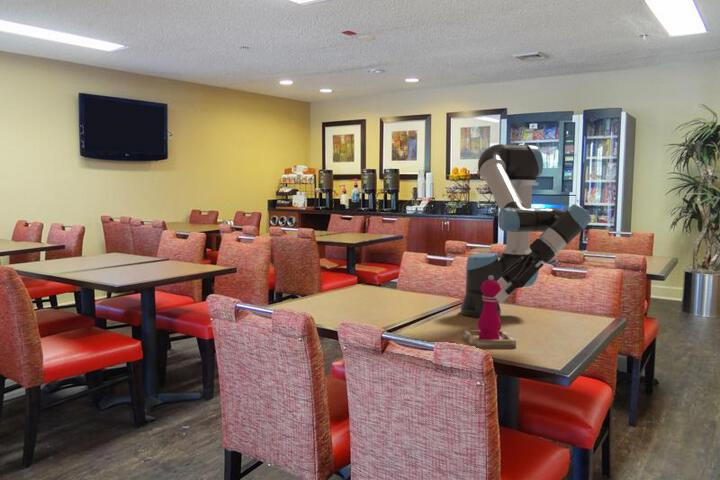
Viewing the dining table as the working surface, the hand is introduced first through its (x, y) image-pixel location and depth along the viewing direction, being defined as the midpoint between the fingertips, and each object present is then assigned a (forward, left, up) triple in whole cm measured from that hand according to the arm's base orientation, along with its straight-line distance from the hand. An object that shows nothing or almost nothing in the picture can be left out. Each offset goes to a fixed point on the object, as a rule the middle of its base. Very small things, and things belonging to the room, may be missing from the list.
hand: (493, 297), depth 176 cm
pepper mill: (0, -1, -13) cm, 13 cm away
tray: (0, -1, -14) cm, 14 cm away
